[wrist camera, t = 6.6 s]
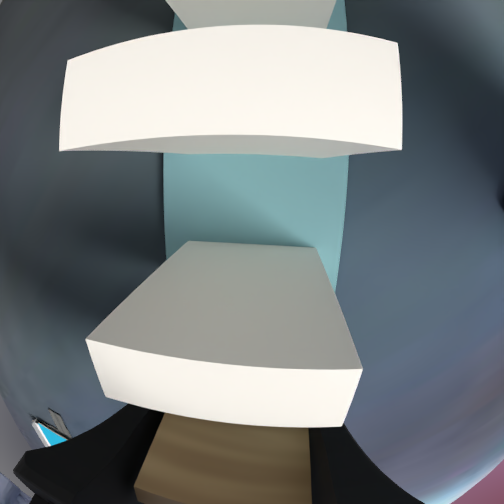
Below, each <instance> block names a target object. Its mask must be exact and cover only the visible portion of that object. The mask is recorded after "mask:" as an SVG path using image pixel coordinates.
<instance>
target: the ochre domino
mask: <svg viewBox="0 0 504 504" xmlns="http://www.w3.org/2000/svg"><path fill="white" fill-rule="evenodd" d="M134 489H135V493H136V497H137V500H138V501H139V502H141V503H144V504H312V495H311V468H310V448H309V431H308V427H272V426H257V425H245V424H235V423H226V422H218V421H211V420H204V419H198V418H192V417H186V416H181V415H176V414H171V413H166V412H165V414H164V416H163V419H162V421H161V423H160V426H159V428H158V430H157V432H156V435H155V437H154V439H153V442H152V444H151V446H150V449H149V451H148V454H147V456H146V458H145V461H144V463H143V465H142V468H141V470H140V472H139V475H138V477H137V480H136V482H135V484H134Z"/></svg>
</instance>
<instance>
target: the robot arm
mask: <svg viewBox="0 0 504 504" xmlns="http://www.w3.org/2000/svg"><path fill="white" fill-rule="evenodd" d="M164 414H165V412H161V411H157V410H153V409H148V408H144V407H140V406H137V405H133V404H129V403H128V404H127V405H126V406H125V407H123V408H122V409H121V410H119V411H118V412H117V413H115V414H114V415H113V416H111V417H110V418H108V419H107V420H105V421H104V422H102V423H101V424H99V425H97V426H96V427H94V428H92V429H90V430H88V431H86V432H84V433H83V434H80V435H78V436H76V437H74V438H72V439H69V440H66V441H64V442H61V443H58V444H55V445H52V446H48V447H44V448H40V449H35V450H30V451H26V452H25V454H24V455H23V457H22V458H21V460H20V461H19V462H18V464H17V465H16V467H15V468H14V470H13V471H14V474H15V475H16V476H17V477H18V478H19V479H20V480H21V481H22V482H23V483H24V484H25V485H26V486H27V487H28V488H29V489H30V490H32V491H33V492H34V493H35V494H34V496H33V498H31V497H29V496H28V495H26V494H25V493H24V492H22V491H21V490H20V489H19V488H18V487H17V486H16V485H15V484H14V483H13V482H11V481H10V480H9V479H8V478H7V477H6V476H4V475H3V474H2V473H0V504H144V503H141V502H139V501H138V500H137V497H136V493H135V489H134V484H135V482H136V480H137V477H138V475H139V472H140V470H141V468H142V465H143V463H144V461H145V458H146V456H147V454H148V451H149V449H150V446H151V444H152V442H153V439H154V437H155V435H156V432H157V430H158V428H159V426H160V423H161V421H162V419H163V416H164ZM308 431H309V448H310V468H311V495H312V504H425V503H423V502H421V501H419V500H418V499H416V498H415V497H413V496H411V495H410V494H409V493H407V492H406V491H404V490H403V489H402V488H400V487H399V486H398V485H397V484H395V483H394V482H393V481H392V480H391V479H390V478H388V477H387V476H386V475H385V474H384V473H383V472H382V471H381V470H380V469H379V468H378V467H377V466H376V465H375V464H374V463H373V462H372V461H371V460H370V459H369V457H368V456H367V455H366V454H365V453H364V451H363V450H362V449H361V448H360V446H359V445H358V444H357V442H356V441H355V440H354V438H353V437H352V435H351V434H350V432H349V431H348V429H347V428H346V426H345V424H344V423H343V425H342V426H341V427H308Z"/></svg>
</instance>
